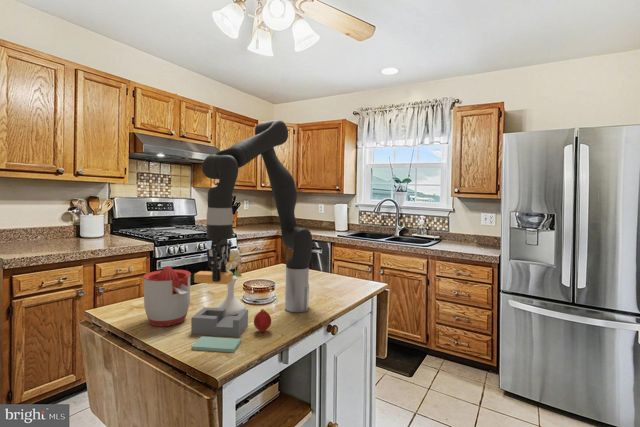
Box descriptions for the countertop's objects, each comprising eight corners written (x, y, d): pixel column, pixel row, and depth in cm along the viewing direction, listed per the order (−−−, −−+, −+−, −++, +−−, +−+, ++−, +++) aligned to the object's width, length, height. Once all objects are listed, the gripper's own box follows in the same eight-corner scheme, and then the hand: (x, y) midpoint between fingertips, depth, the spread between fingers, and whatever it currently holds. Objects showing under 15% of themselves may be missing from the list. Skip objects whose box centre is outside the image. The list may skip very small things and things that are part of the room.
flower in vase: (210, 311, 132) (210, 248, 131) (237, 305, 140) (238, 245, 138) (224, 322, 122) (225, 253, 121) (252, 315, 130) (253, 250, 128)
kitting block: (247, 324, 120) (248, 309, 120) (238, 336, 110) (239, 320, 110) (204, 322, 121) (204, 307, 121) (191, 333, 111) (191, 317, 111)
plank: (231, 280, 104) (231, 272, 104) (227, 284, 100) (227, 275, 100) (200, 279, 105) (200, 271, 105) (194, 282, 101) (194, 274, 101)
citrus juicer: (163, 334, 110) (163, 274, 109) (133, 322, 119) (133, 266, 118) (203, 320, 123) (203, 265, 122) (173, 310, 133) (173, 259, 131)
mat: (241, 342, 107) (241, 338, 106) (234, 352, 100) (234, 349, 100) (201, 339, 108) (201, 336, 108) (191, 349, 101) (191, 346, 101)
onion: (254, 328, 117) (255, 305, 117) (271, 328, 118) (271, 305, 117) (252, 335, 111) (253, 311, 111) (270, 335, 112) (270, 311, 111)
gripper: (223, 225, 94) (222, 286, 95) (239, 221, 108) (239, 274, 109) (197, 224, 94) (196, 285, 95) (216, 220, 108) (216, 273, 110)
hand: (219, 279), depth 102 cm, fingers closed on plank, 4 cm apart
